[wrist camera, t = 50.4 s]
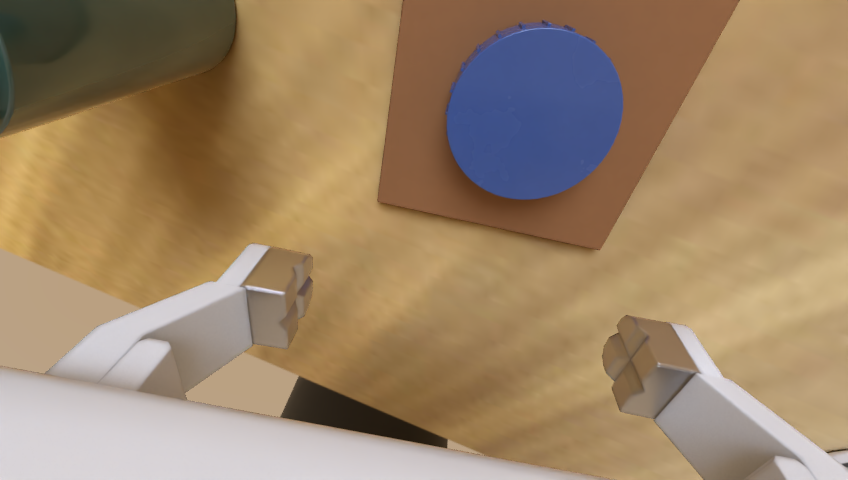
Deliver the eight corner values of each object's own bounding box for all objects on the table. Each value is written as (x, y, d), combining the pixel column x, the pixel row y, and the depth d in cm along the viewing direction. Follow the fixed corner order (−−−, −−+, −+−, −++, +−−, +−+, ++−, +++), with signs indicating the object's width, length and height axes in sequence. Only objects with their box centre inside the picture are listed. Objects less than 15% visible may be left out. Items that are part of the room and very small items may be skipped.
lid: (468, 2, 13) (467, 5, 12) (640, 40, 13) (662, 48, 12) (434, 164, 17) (430, 183, 15) (570, 194, 17) (580, 215, 15)
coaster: (597, 243, 19) (600, 251, 18) (379, 196, 19) (376, 202, 18) (742, -22, 13) (752, -22, 12) (417, -95, 13) (415, -98, 12)
